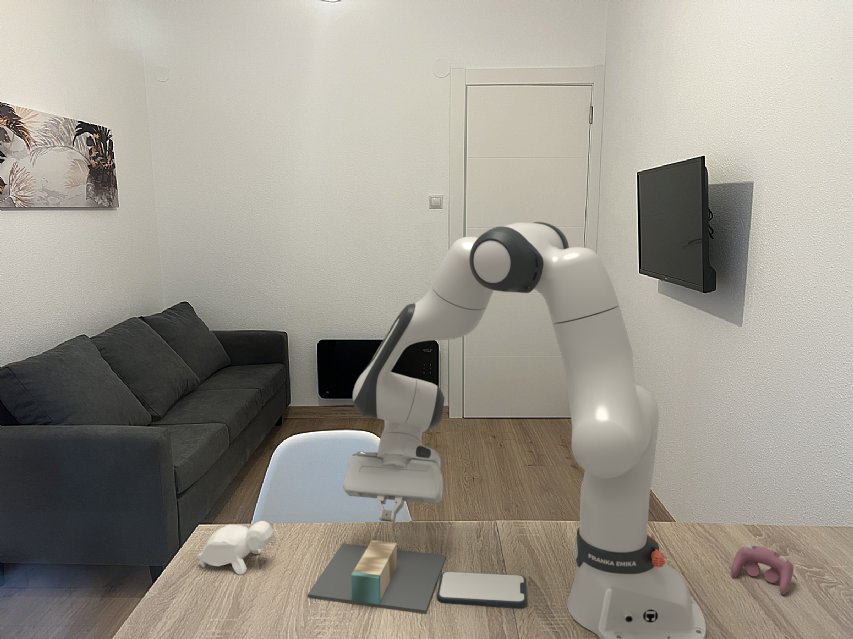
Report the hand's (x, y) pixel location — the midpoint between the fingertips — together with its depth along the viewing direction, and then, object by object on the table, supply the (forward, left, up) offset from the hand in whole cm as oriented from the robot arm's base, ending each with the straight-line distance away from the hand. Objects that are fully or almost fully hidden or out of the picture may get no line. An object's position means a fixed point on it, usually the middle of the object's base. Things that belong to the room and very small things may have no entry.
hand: (386, 520), depth 124 cm
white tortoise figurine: (+29, +6, -9) cm, 31 cm away
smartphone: (-20, +5, -10) cm, 23 cm away
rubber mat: (0, +5, -9) cm, 10 cm away
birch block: (0, +2, -6) cm, 6 cm away
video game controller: (-70, -9, -9) cm, 71 cm away
